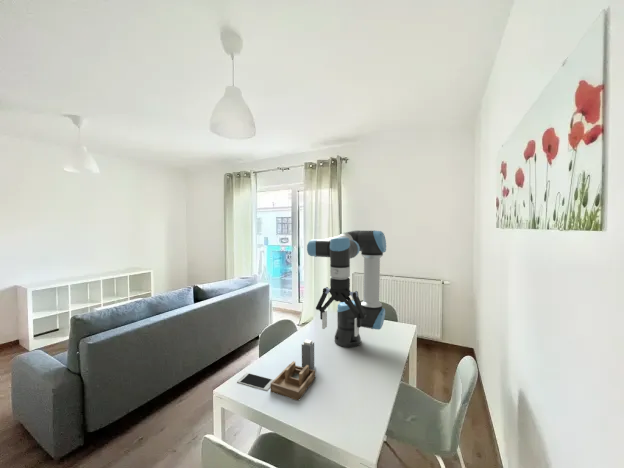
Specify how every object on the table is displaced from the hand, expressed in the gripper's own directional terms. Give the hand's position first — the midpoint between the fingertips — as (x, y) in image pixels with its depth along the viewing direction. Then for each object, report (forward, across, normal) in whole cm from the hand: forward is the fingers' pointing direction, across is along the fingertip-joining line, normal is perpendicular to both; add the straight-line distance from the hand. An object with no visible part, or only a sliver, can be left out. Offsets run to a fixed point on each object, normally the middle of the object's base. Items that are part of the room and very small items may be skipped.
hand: (340, 331), depth 100 cm
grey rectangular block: (+27, -22, +12) cm, 37 cm away
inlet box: (+27, -21, -2) cm, 34 cm away
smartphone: (+28, -36, -8) cm, 46 cm away
